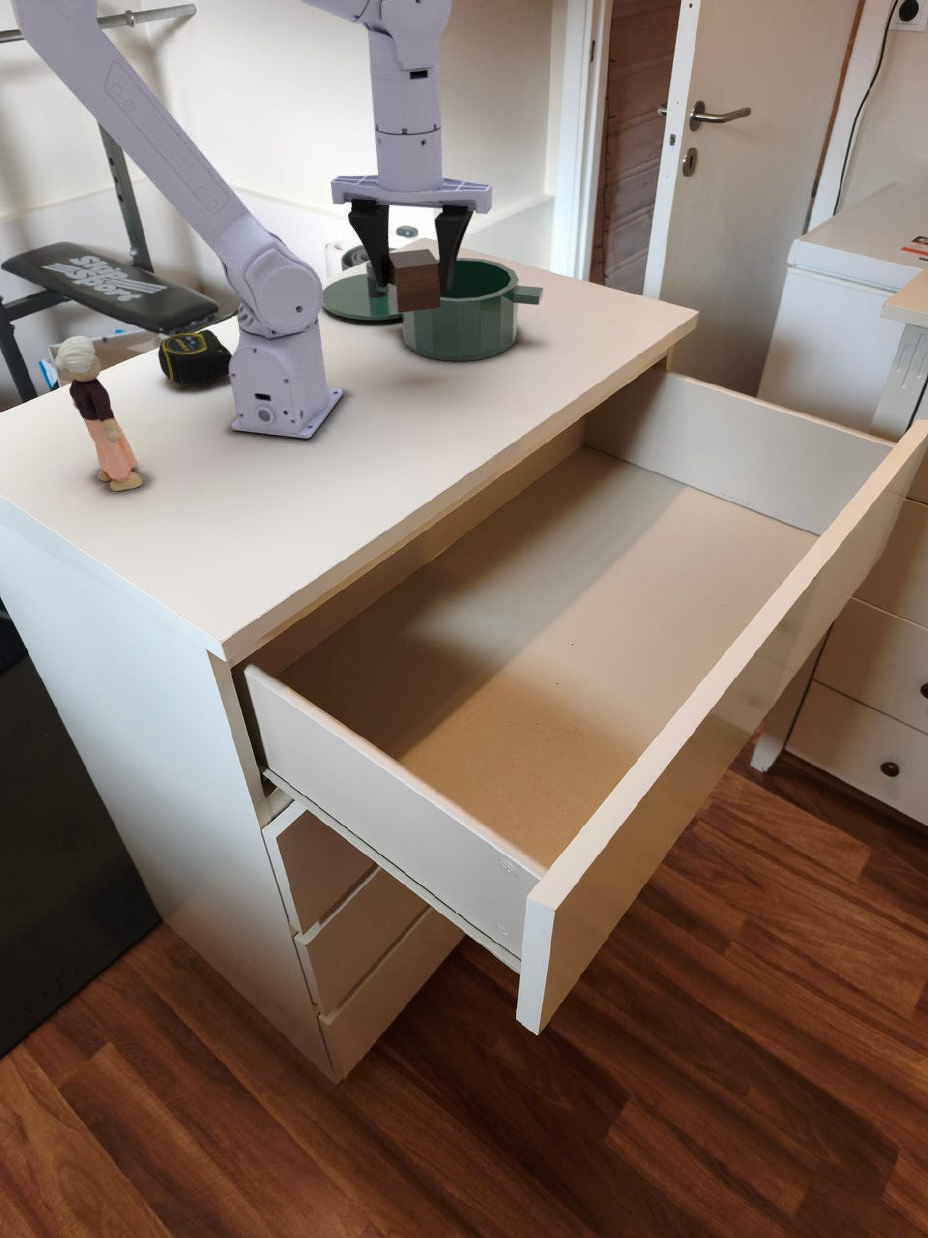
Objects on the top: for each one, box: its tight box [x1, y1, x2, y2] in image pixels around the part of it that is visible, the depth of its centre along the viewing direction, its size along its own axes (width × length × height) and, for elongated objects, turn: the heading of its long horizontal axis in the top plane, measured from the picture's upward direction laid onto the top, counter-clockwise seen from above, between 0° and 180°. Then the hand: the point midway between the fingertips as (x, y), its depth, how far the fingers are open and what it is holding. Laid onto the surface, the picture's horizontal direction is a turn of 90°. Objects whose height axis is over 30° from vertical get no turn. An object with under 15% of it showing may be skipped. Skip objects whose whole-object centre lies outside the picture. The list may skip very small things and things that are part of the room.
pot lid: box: [321, 260, 402, 321], centre depth 102 cm, size 14×14×5 cm
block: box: [386, 248, 441, 313], centre depth 81 cm, size 4×4×4 cm
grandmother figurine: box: [53, 335, 144, 492], centre depth 70 cm, size 8×4×13 cm, turn 52°
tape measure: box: [157, 329, 233, 386], centre depth 88 cm, size 7×7×4 cm
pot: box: [377, 257, 544, 362], centre depth 94 cm, size 13×18×6 cm
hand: (415, 286), depth 82 cm, fingers closed on block, 5 cm apart
